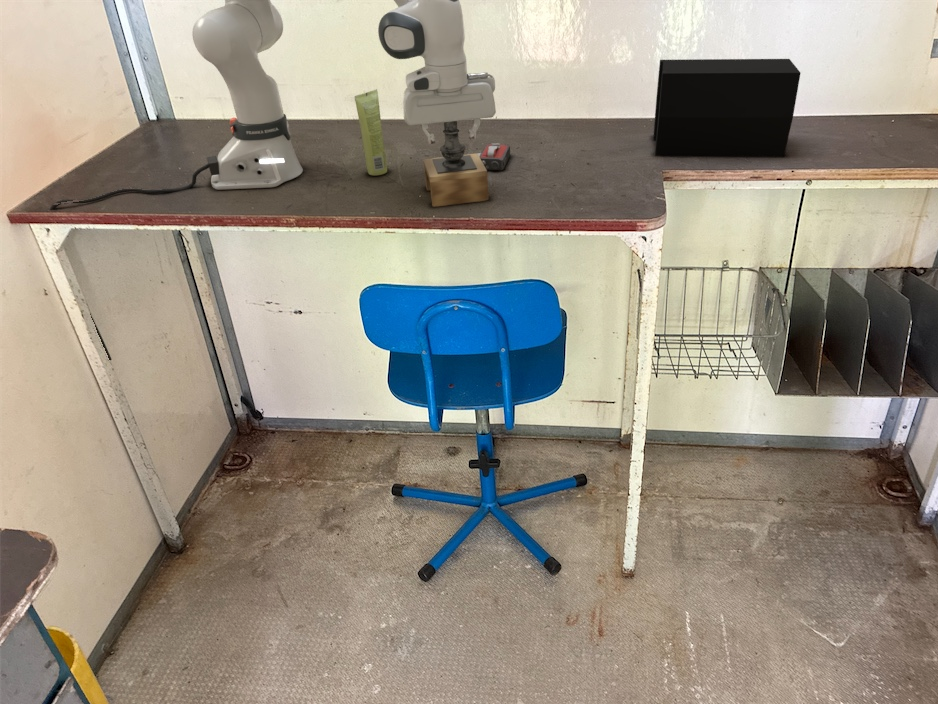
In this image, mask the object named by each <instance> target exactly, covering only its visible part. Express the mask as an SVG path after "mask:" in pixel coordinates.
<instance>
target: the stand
mask: <svg viewBox="0 0 938 704" xmlns="http://www.w3.org/2000/svg"><path fill="white" fill-rule="evenodd" d="M461 159H462V160H464V161H465V164H464V165H463V166H460V167H455V168H449V167H445V166H443V165H442V163H443V162H444V161H445V160H446V159H445V158H444V157H443V156H442V157H441V156H440V157H433V158H424V159H422V161H423V171H424V179H425V187H426V191H430V199H431V206H432V207H433V208H436V207H445V206H453V205H460V204H469V203H470V204H471V203H477V202H478V203H479V202H485V201H489V183H488V182H489V181H488V180H489V179H488V170H486V168H485V166H484V164H483V163H482V161H481V159H480V157H479V155H478V152H477V153H468V154H464V155H463V157H462V158H461Z"/></svg>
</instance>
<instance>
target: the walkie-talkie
mask: <svg viewBox="0 0 938 704" xmlns="http://www.w3.org/2000/svg"><path fill="white" fill-rule="evenodd" d="M477 154H478V155H479V157H480V159H481V161H482V163H483V164H484V166H485V168H486V170H487V171H503V170H504V169H505V167H506V164H507V163H508V161H509V158H510V157H511V146H510V145H509V144H508V143H494V142H492V143H490V142H489V143H488V144H486V145H485V146H484V148H483V150H482V151H481V152H479V153H478V152H477Z"/></svg>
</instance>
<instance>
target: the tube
mask: <svg viewBox="0 0 938 704" xmlns="http://www.w3.org/2000/svg"><path fill="white" fill-rule="evenodd" d="M379 100H380V99H379V92H378V89H377V88H376V89H372V90H370V91H366V92H363V93H360V94H356V95H354V102H355V105H356V106H355V107H356V112H357V118H358V122H359V127H360V134H361V139H362V147H363V151H364V158H365V164H366V169H367V174H368V175H370V176H383V175H385V174H386V173H388V165H387V158H386V151H385V143H384V135H383V126H382V120H381V119H382V118H381V111H380V101H379Z"/></svg>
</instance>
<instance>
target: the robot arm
mask: <svg viewBox="0 0 938 704" xmlns="http://www.w3.org/2000/svg"><path fill="white" fill-rule="evenodd" d="M393 1H394V2H395V4H396V6H397V7H396V8H394V9H392V10H389V11H388V12H387V13H385V14H384V15H382V17H381V19H380V20H379V24H378V30H377V31H378V32H377V33H378V39H379V42H380V45H381V47H382V48H383V50H384V51H385V52H386V54H387V55H389V56H390V57H392V58H393V59H396V60H408V59H413V58H416V57H422V59H423V61H424V66H423V67H421V68H418V69H416V70H414V71H411V72H409V73H407V74H406V75H405V85H406V88H405V90H404V92H403V95H402V96H403V97H402V98H403V99H402V105H403V106H402V109H403V110H402V111H403V119H404V123H406V124H407V125H408V126H409V127H411V126H420V128H421V130H422V131H423V133H424V135H426V139H427V144H428V145H432V144H436V140H435V138H436V137H435V134H434V133H430V132H429V125H432V124H441V123H442V124H443V123H444V122H452V121H457V122H462V121H470V120H472V122H473V125H472V128H471V129H468V138H469V140H471V141H472V140H477V132H478V130H479V128H480V126H481V123H482V122H481V119H491V118H494V116H495V115H496V113H497V110H496V109H497V108H496V101H495V96H494V92H495V90H496V80H495V77H494V75H492V74H489V73H488V72H484V71H483V72H478V73H476V72H473V73H472V72H471V73H468V65H467V56H466V52H465V47H464V45H465V38H466V35H465V34H466V33H465V24H464V15H463V10H462V5H461V1H460V0H393ZM283 21H284V20H283V18H282V15H281V13H280V12H279V9H277V8H276V6H275V5H274V4H272V1H271V0H224V6H220V7H217V8H214V9H211V10H208V11H207V12H206V13H204V14H203V15H202V16H201V17H199V18H198V19H197V20H196V21H195V23H194V24H193V26H192V30H191V31H192V34H191V36H192V40H193V41H192V42H193V44H194V46H195V48H196V51H197V52H198V53H199V54H200V55H201V57H202V58H203V59H205V60H206V61H207V62H209V63H210V64H211V65H213V66H214V67H215V68H216V70H217V71H218V72H219V74H220V75H221V77H222V79H223V81H224V83H225V85H226V87H227V89H228V93H229V96H230V98H231V102H232V105H233V109H234V113H235V116H236V117H231V118H230V120H229V127H230V131H231V135H232V136H233V137H232V138H230V140H229V141H228V142H227V143H226V144H225V145H224V146H223V147H222V148H221V150H220V151H218V155H212V156H207V157H206V161H207V164H205V165H203V166H201V167H199V168H198V169H196V170H195V171H194V172H193V174H192V177H191V182H190V183H189V184H188V185H185V186H183V187H179V188H161V189H162V190H154V189H151V190H142V189H143V188H141V189H124V188H121V189H122V190H119V189H116V190H117V191H114V190H113V191H114V192H111V191H109V192H110V193H108V192H107V193H108V194H105V193H104V194H105V195H103V194H101V195H102V196H100V195H98V196H99V197H97V196H95V197H96V198H93V197H91V198H92V199H89V198H87V199H88V200H84V201H79V202H73V203H72V204H89V203H92V202H93V203H94V202H96V201H100V200H103V199H106V198H108V197H111V196H114V195H118V194H123V193H129V192H132V193H133V192H137V193H145V194H163V193H164V194H165V193H167V194H168V193H169V194H170V193H177V192H181V191H185V190H189V189H192V188H193V187H194V186H195V185H196V183H197V177H198V175H199V174H200V173H202V172H204V171H205V170H208V169H209V172H210V175H211V177H210V178H211V179H210V183H211V184H210V185H211V187H212V188H213V189H215V190H219V191H220V190H221V191H222V190H240V189H241V190H243V189H264V188H265V189H266V188H276V187H278V186H280V185H281V184H283V183H286V182H288V181H291V180H294V179H295V178H298V177H299V176H301V174H303V172H304V169H303V167H302V165H301V163H300V161H299V159H298V157H297V155H296V151H295V150H294V146H293V144H292V140H291V138H292V137H291V136H292V135H291V129H290V125H289V121H288V118H287V115H286V114H285V113H284V110H283V104H282V101H281V95H280V90H279V86H278V83H277V81H276V80H275V79H274V77H272V76H271V75H269V74H267V73H266V71H265V69H264V68H263V66H262V63H261V62H260V59H259V55H258V54H259V53H262V52H264V51H267V50H269V49H270V48H272V47H273V46H274V45H275V44H276V43H277V42H278V41H279V40H280V39H281V37H282V35H283V32H284V23H283ZM73 200H75V199H70V198H69V199H66V198H65V199H60V200H57V201H55V202H54V203H61V202H67V201H73ZM60 205H61V204H58V205H53V204H51V206H50V207H49V211H54V210H55V209H56V208H57V207H59V206H60ZM90 315H91V318H92V320H93V322H94V324H95V327H96V330H97V333H98V335H99V337H100V339H101V342H102V344H103V347H104V348H105V351H106V353H107V355H108V358H109V360H110V361H112V357H111V354H110V352H109V349H108V348H107V347H108V346H107V345H106V343H105V341H104V339H103V337H102V334H101V332H100V330H99V328H98V326H97V324H96V322H95V320H94V318H93V315H92V314H91V313H90ZM103 347H102V348H103ZM109 360H108V361H109Z"/></svg>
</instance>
